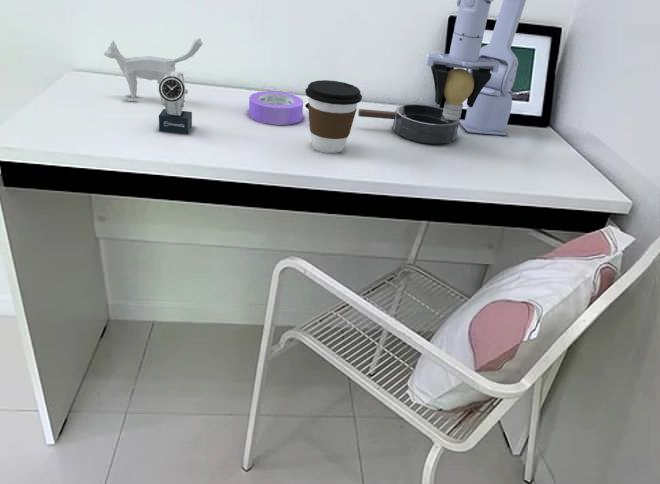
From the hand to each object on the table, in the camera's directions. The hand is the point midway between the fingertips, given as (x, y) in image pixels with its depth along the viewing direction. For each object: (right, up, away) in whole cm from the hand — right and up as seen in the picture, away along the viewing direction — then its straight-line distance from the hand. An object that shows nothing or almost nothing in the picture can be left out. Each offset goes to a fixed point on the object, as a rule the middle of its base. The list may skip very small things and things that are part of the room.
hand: (453, 104), depth 129 cm
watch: (-56, -6, -3) cm, 56 cm away
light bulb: (0, -3, +2) cm, 3 cm away
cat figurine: (-64, +3, +10) cm, 64 cm away
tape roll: (-37, 0, +11) cm, 39 cm away
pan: (-4, -3, +13) cm, 14 cm away
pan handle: (-15, 0, +9) cm, 18 cm away
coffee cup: (-26, -9, -2) cm, 27 cm away
